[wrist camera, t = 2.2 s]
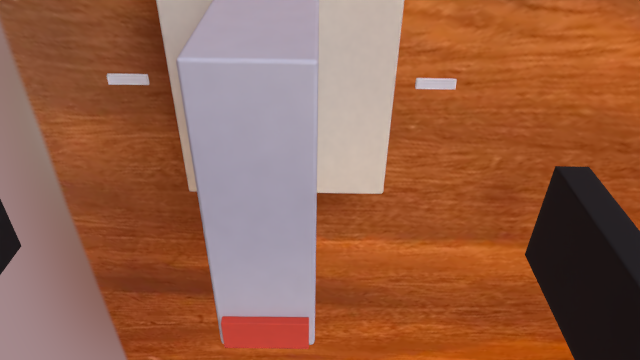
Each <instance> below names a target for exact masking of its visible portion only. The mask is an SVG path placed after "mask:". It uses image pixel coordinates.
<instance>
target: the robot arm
mask: <svg viewBox="0 0 640 360" xmlns="http://www.w3.org/2000/svg"><path fill="white" fill-rule="evenodd" d="M20 247H21V244H20V242H19V240H18V238H17V235H16V233H15V231H14V228H13V226H12V224H11V222H10V220H9V217H8V215H7V213H6V211H5V208H4V206H3V204H2V202H1V200H0V274H1V273H2V272H3V270H4V269H5V268H6V266H7V265H8V263H9V262H10V261H11V259H12V258H13V257H14V255H15V254H16V252H17V251H18V250H19V249H20ZM525 256H526V258H527V260H528V262H529V264H530V266H531V268H532V271H533V273H534V275H535V277H536V279H537V281H538V283H539V285H540V287H541V290H542V292H543V294H544V296H545V298H546V300H547V302H548V304H549V306H550V309H551V311H552V313H553V315H554V317H555V319H556V321H557V323H558V325H559V327H560V330H561V332H562V334H563V336H564V338H565V340H566V342H567V344H568V346H569V349H570V351H571V353H572V355H573V357H574V359H575V360H640V231H639V230H638V228H637V227H636V226H635V225H634V223H633V222H632V221H631V220H630V218H629V217H628V216H627V215H626V213H625V212H624V211H623V209H622V208H621V207H620V206H619V204H618V203H617V202H616V201H615V199H614V198H613V197H612V196H611V194H610V193H609V192H608V190H607V189H606V188H605V187H604V185H603V184H602V183H601V182H600V180H599V179H598V178H597V177H596V175H595V174H594V173H593V171H592V170H591V169H590V168H589V167H560V166H555V169H554V172H553V175H552V178H551V181H550V184H549V187H548V190H547V192H546V195H545V198H544V201H543V204H542V207H541V210H540V213H539V215H538V218H537V221H536V224H535V227H534V230H533V233H532V236H531V239H530V241H529V244H528V247H527V250H526V253H525Z"/></svg>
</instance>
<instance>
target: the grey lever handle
mask: <svg viewBox="0 0 640 360" xmlns="http://www.w3.org/2000/svg"><path fill="white" fill-rule="evenodd" d="M176 65H177V71H178V77H179V83H180V89H181V95H182V102H183V108H184V114H185V120H186V126H187V132H188V139H189V145H190V151H191V157H192V163H193V169H194V176H195V182H196V188H197V194H198V200H199V206H200V213H201V219H202V225H203V231H204V237H205V243H206V250H207V256H208V262H209V268H210V274H211V280H212V287H213V293H214V299H215V305H216V311H217V317H218V324H219V330H220V336H221V341H222V343H224V347H225V348H290V349H308V348H309V345H312V344H313V343H314V341H315V283H316V211H317V139H318V68H319V0H213V1H212V3H211V4H210V6H209V7H208V9H207V11H206V12H205V14H204V15H203V17H202V19H201V20H200V22H199V23H198V25H197V27H196V28H195V30H194V31H193V33H192V35H191V36H190V38H189V39H188V41H187V43H186V44H185V46H184V47H183V49H182V51H181V52H180V54H179V55H178V57H177V60H176Z"/></svg>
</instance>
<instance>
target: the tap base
mask: <svg viewBox="0 0 640 360" xmlns="http://www.w3.org/2000/svg"><path fill="white" fill-rule="evenodd" d="M212 1H213V0H156V3H157V9H158V14H159V20H160V26H161V32H162V37H163V43H164V49H165V55H166V60H167V66H168V72H169V78H170V83H171V89H172V95H173V101H174V106H175V112H176V118H177V124H178V129H179V135H180V141H181V147H182V152H183V158H184V164H185V170H186V176H187V181H188V187H189V191H196V192H197V188H196V182H195V176H194V169H193V163H192V157H191V151H190V145H189V139H188V132H187V126H186V120H185V114H184V108H183V102H182V95H181V89H180V83H179V77H178V71H177V65H176V60H177V57H178V55H179V54H180V52H181V51H182V49H183V47H184V46H185V44H186V43H187V41H188V39H189V38H190V36H191V35H192V33H193V31H194V30H195V28H196V27H197V25H198V23H199V22H200V20H201V19H202V17H203V15H204V14H205V12H206V11H207V9H208V7H209V6H210V4H211V3H212ZM403 8H404V0H319V68H318V139H317V193H354V194H382V193H383V188H384V179H385V170H386V161H387V152H388V143H389V134H390V125H391V116H392V107H393V98H394V89H395V80H396V71H397V62H398V53H399V44H400V35H401V26H402V17H403ZM107 79H108V83H109V85H149V78H148V74H110V73H108V74H107ZM456 82H457V80H456V79H454V78H416V83H415V88H416V89H455V87H456Z"/></svg>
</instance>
